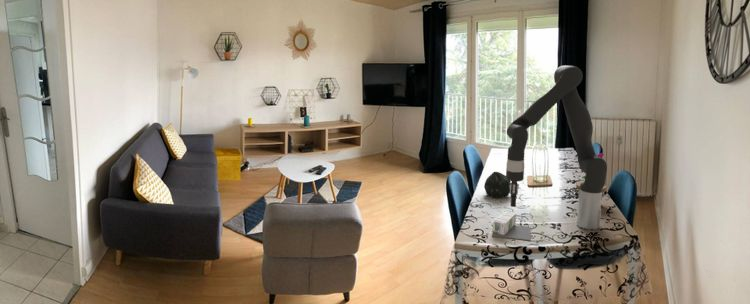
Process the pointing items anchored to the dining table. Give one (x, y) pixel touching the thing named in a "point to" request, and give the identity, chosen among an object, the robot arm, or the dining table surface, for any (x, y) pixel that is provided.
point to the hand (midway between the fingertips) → (513, 206)
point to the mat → (516, 233)
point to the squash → (497, 185)
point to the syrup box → (504, 223)
